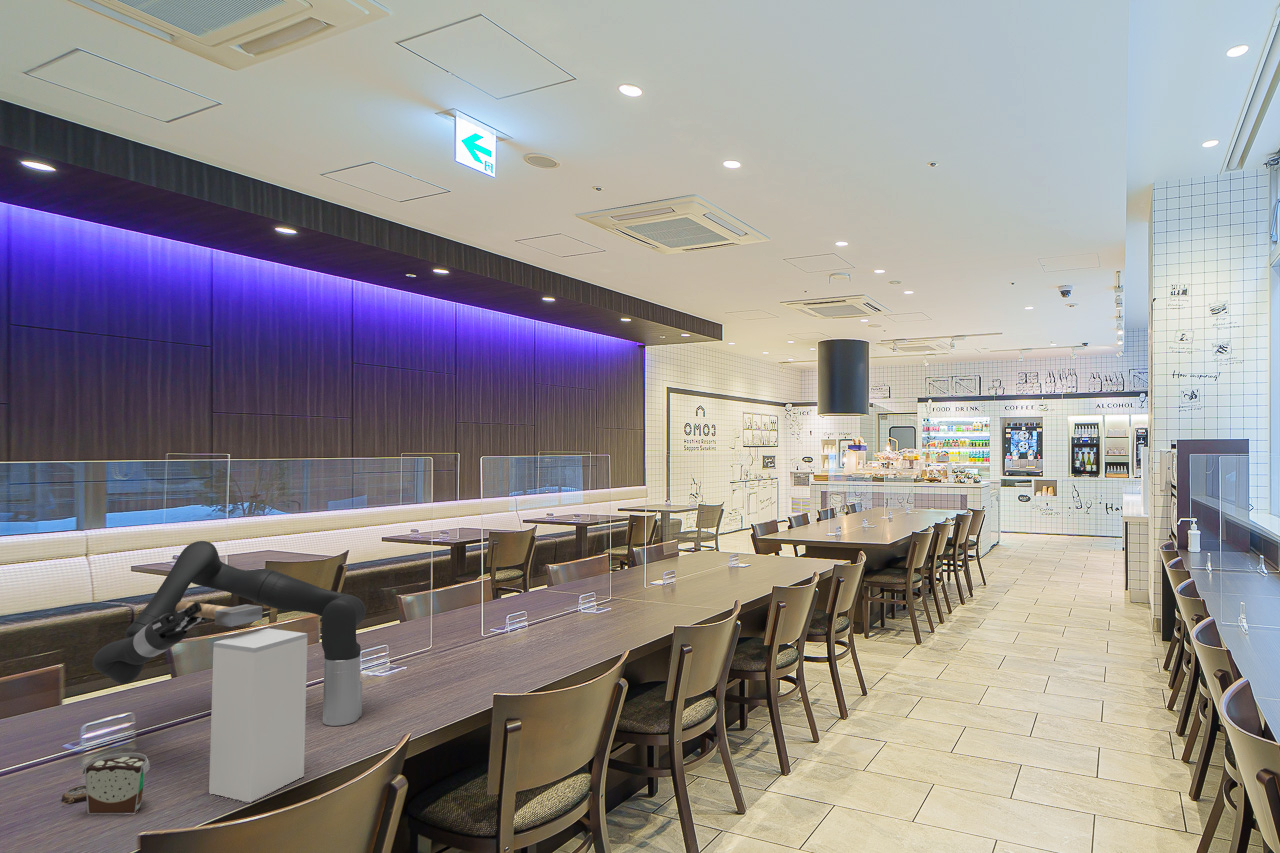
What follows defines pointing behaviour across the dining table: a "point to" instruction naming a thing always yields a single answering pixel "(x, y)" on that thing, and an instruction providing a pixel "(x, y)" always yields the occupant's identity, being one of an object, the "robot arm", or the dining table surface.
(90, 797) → the food container
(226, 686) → the stand
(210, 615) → the mallet
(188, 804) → the dining table surface
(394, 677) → the dining table surface
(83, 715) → the dining table surface
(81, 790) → the compass
